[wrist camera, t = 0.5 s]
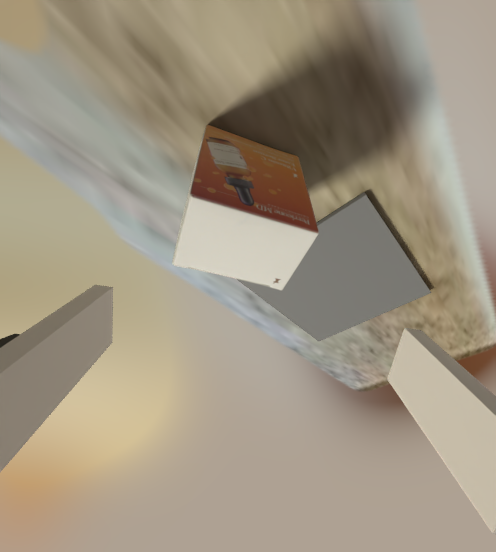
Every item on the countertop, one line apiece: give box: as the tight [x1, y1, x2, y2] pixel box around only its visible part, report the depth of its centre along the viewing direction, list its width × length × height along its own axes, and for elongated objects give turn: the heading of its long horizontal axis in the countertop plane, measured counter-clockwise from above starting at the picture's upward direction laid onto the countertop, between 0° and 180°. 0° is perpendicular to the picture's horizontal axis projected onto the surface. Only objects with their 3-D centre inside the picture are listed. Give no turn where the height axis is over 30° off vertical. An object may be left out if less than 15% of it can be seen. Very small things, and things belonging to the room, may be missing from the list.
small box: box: [172, 125, 319, 290], centre depth 22 cm, size 8×6×10 cm
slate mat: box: [237, 192, 431, 341], centre depth 36 cm, size 18×16×1 cm
